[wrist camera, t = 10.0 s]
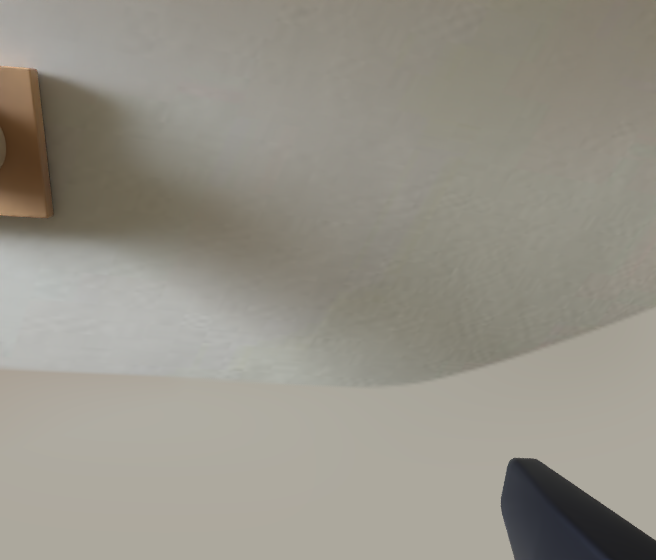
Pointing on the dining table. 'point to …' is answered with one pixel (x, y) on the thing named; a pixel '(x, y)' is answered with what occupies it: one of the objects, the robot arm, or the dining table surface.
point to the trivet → (23, 146)
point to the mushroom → (2, 147)
